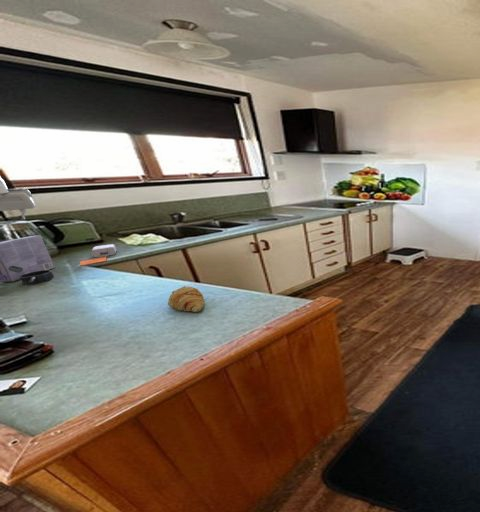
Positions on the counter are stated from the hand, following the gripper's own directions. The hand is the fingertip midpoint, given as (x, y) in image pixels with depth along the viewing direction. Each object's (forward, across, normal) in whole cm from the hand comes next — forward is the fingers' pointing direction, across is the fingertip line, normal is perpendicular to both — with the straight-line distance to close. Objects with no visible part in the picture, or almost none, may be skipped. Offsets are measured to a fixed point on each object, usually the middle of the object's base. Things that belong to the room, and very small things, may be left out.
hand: (6, 221), depth 122 cm
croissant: (+27, -48, +93) cm, 108 cm away
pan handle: (+24, -4, +23) cm, 34 cm away
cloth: (+26, -21, -4) cm, 34 cm away
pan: (+26, -4, +15) cm, 30 cm away
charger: (+27, -26, -20) cm, 42 cm away
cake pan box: (+26, 0, 0) cm, 27 cm away
